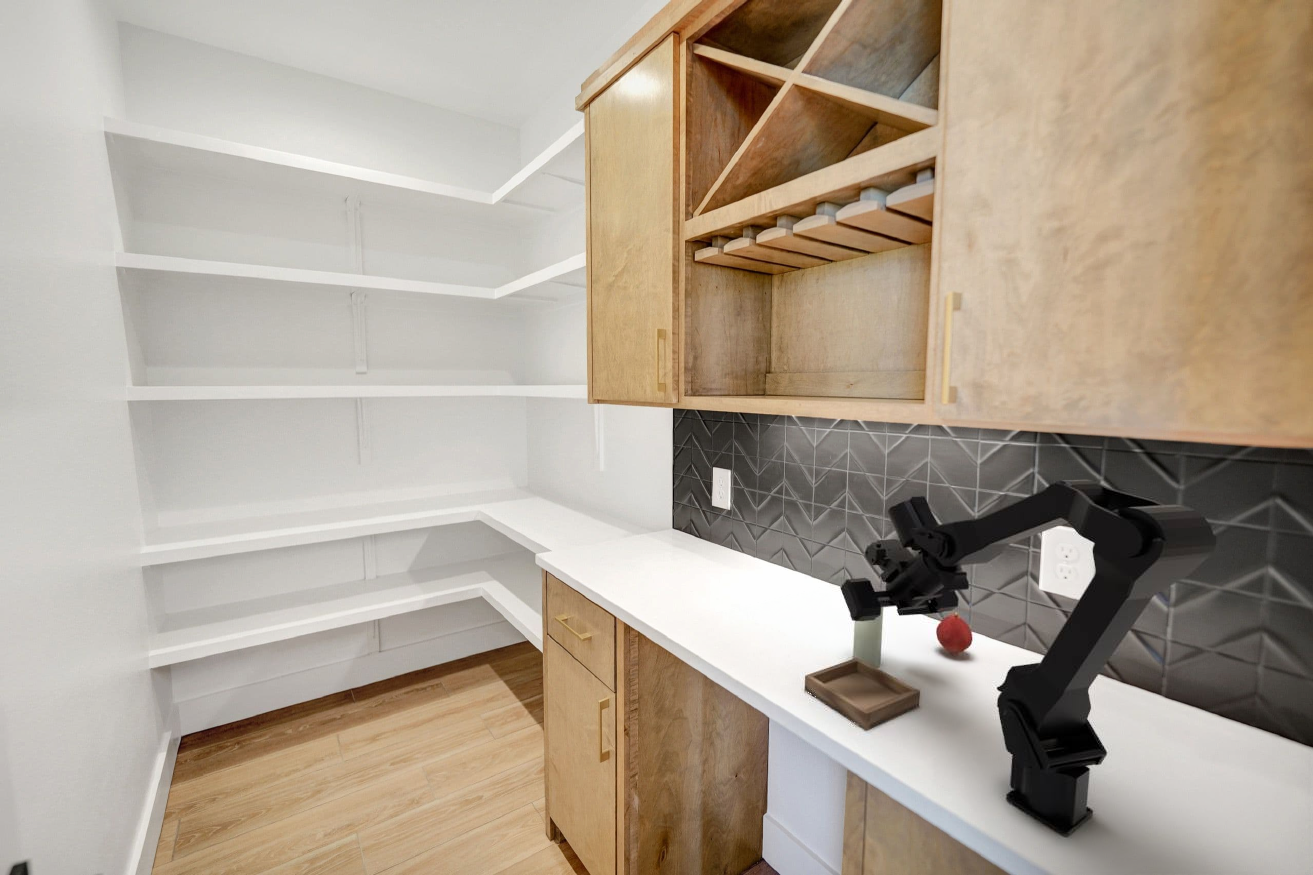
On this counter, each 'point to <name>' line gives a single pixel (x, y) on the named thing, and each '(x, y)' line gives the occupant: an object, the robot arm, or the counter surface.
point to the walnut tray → (862, 692)
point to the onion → (954, 634)
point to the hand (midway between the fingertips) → (875, 615)
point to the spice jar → (868, 640)
